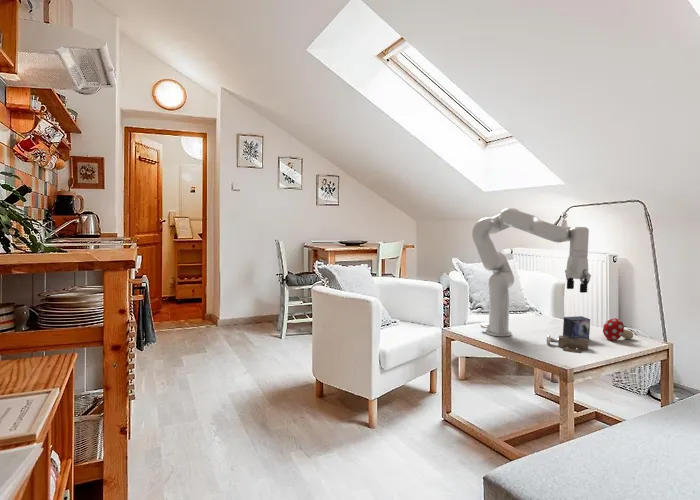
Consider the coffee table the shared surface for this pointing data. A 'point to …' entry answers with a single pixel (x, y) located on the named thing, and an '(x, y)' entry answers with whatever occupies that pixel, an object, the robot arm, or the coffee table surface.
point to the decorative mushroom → (615, 330)
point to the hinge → (573, 343)
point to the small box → (576, 327)
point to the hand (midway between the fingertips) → (576, 290)
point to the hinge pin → (551, 339)
